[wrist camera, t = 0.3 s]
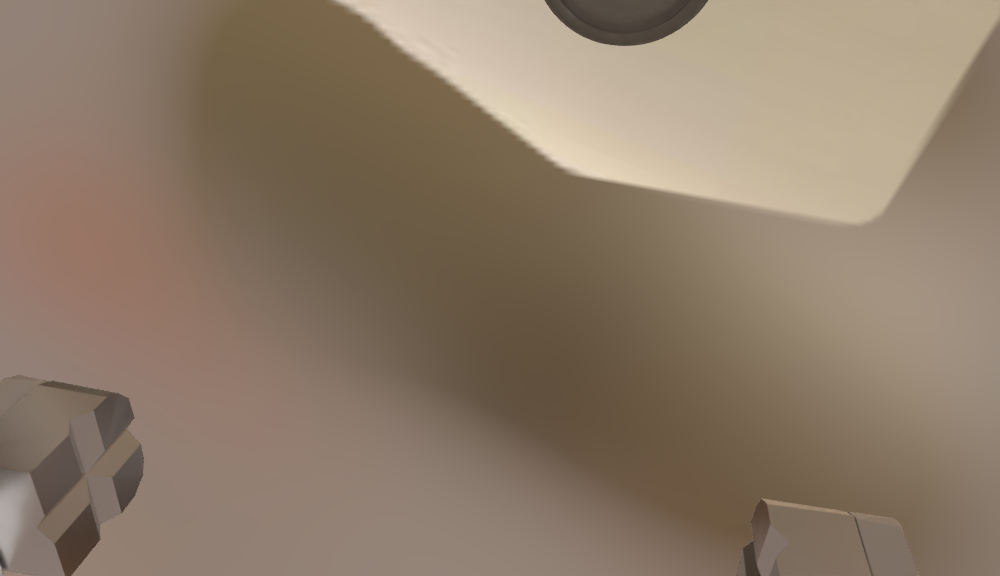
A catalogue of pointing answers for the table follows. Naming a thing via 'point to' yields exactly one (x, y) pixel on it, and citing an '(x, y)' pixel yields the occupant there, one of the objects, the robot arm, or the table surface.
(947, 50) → the table surface
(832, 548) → the robot arm
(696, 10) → the coffee can
